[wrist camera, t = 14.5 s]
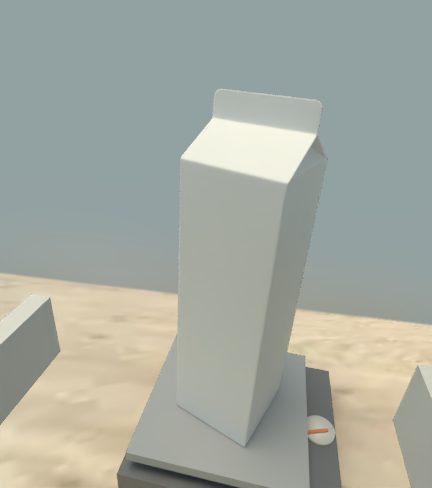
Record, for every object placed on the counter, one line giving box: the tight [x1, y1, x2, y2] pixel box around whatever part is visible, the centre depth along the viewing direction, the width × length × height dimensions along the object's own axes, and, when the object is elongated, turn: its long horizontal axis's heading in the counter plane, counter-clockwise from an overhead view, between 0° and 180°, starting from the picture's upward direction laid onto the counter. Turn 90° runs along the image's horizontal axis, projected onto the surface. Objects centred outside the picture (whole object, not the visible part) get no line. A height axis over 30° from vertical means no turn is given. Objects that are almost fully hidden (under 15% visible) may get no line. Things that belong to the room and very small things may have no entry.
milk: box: [176, 89, 328, 447], centre depth 23 cm, size 6×6×22 cm
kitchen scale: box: [117, 333, 341, 488], centre depth 29 cm, size 15×13×4 cm
